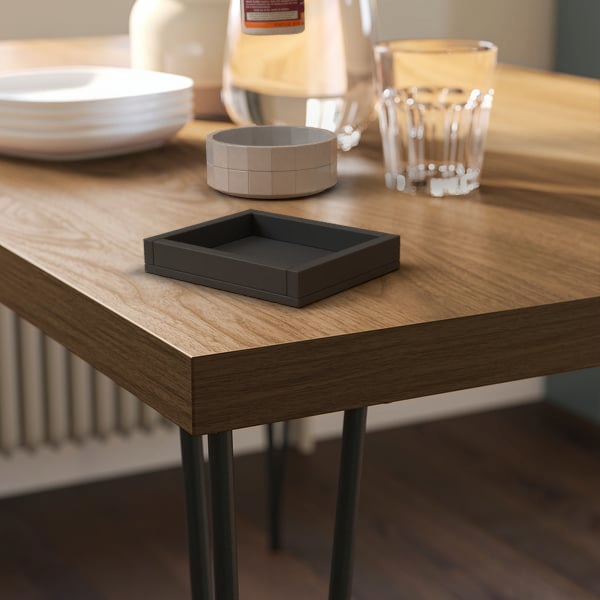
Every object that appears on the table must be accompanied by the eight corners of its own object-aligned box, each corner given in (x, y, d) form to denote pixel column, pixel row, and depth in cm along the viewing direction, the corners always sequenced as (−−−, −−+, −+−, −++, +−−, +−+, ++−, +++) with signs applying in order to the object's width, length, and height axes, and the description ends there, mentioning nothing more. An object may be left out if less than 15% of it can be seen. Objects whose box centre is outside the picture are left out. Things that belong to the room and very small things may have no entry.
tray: (400, 268, 69) (400, 235, 69) (298, 308, 62) (298, 271, 62) (251, 238, 76) (250, 208, 76) (144, 271, 69) (142, 238, 69)
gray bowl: (362, 183, 92) (362, 132, 91) (280, 207, 85) (280, 152, 84) (265, 168, 98) (264, 121, 97) (180, 189, 91) (178, 138, 90)
